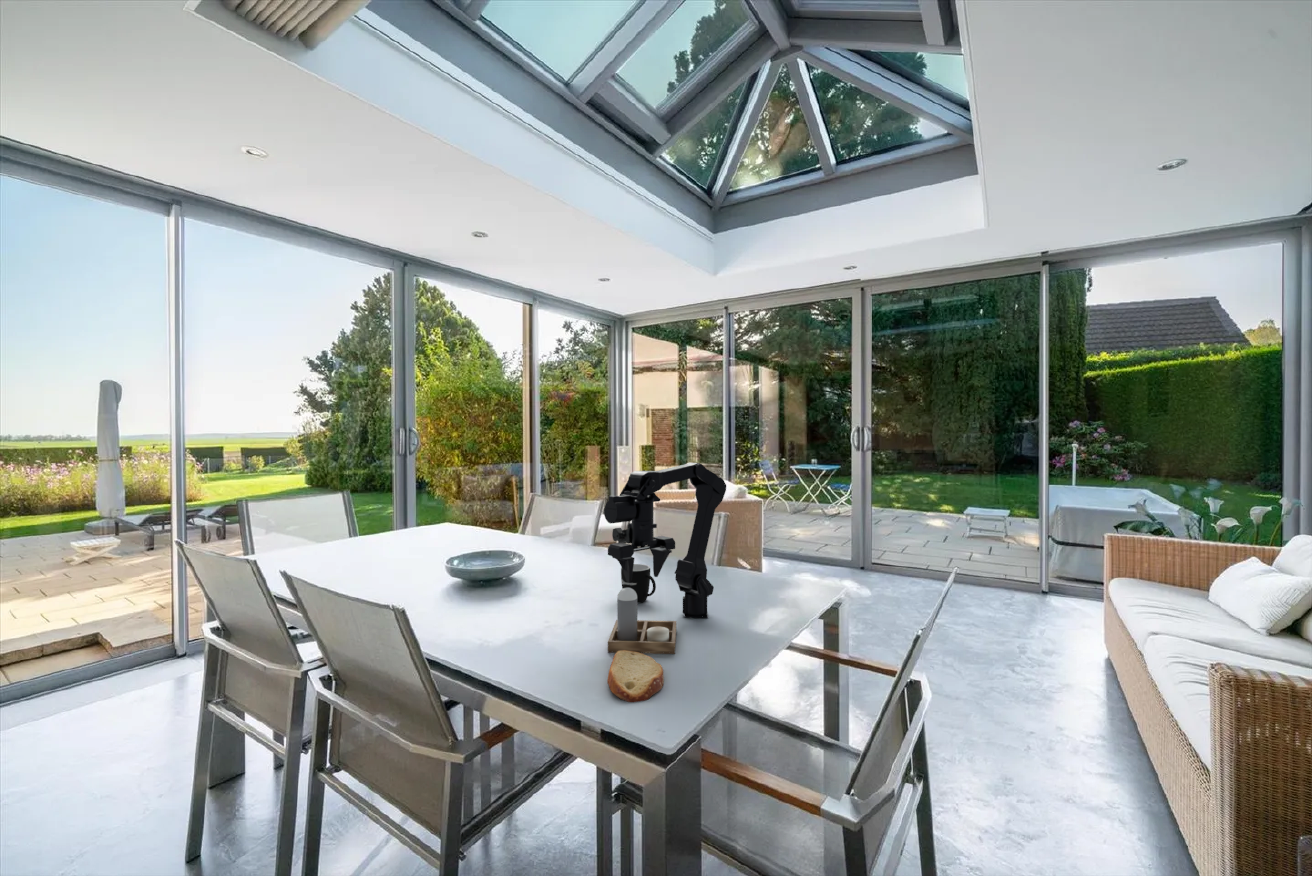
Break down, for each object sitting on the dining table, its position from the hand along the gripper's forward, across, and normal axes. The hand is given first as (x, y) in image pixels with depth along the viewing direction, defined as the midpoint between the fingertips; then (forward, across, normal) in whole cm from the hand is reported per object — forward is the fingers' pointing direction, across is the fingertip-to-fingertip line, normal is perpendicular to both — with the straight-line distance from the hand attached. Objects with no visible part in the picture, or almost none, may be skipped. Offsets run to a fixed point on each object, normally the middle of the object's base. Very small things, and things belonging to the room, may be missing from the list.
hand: (642, 579), depth 147 cm
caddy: (+13, +5, +6) cm, 15 cm away
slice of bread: (+14, +20, +20) cm, 32 cm away
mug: (+13, -16, -20) cm, 28 cm away
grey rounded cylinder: (+12, +10, +6) cm, 17 cm away
